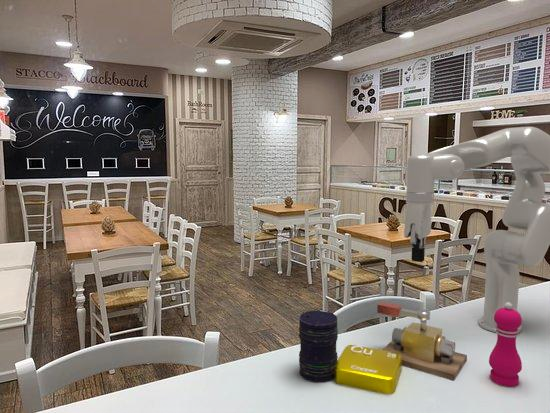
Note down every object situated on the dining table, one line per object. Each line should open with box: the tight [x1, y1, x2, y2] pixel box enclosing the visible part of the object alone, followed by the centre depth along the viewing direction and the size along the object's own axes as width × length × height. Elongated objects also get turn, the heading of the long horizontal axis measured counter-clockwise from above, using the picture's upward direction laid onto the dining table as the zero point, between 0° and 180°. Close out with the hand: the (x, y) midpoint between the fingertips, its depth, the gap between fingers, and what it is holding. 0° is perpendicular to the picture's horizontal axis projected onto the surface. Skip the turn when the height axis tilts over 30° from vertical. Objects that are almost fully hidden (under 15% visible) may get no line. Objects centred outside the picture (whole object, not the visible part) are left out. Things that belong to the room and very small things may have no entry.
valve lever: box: [376, 301, 431, 321], centre depth 120 cm, size 14×3×2 cm, turn 56°
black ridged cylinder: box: [298, 310, 339, 384], centre depth 111 cm, size 10×10×15 cm
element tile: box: [333, 344, 403, 395], centre depth 110 cm, size 15×15×5 cm
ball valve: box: [391, 319, 456, 364], centre depth 117 cm, size 7×16×10 cm, turn 53°
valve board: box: [381, 340, 468, 381], centre depth 118 cm, size 13×20×2 cm, turn 53°
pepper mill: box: [488, 302, 523, 387], centre depth 106 cm, size 7×7×20 cm
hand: (417, 260), depth 125 cm, fingers closed
